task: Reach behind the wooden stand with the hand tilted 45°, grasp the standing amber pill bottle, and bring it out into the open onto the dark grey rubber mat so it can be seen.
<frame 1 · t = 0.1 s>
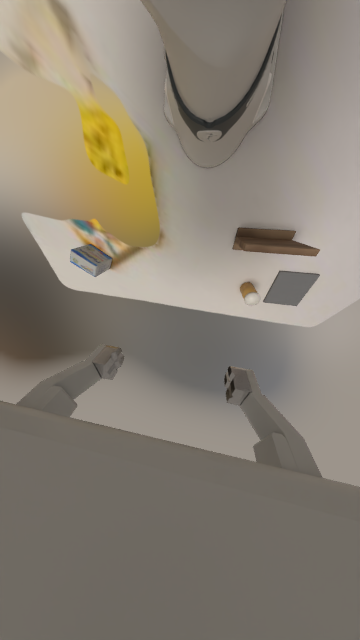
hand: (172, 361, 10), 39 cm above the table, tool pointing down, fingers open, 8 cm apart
medicine box: (101, 256, 45), on the table
pill bottle: (246, 287, 44), on the table
mat: (288, 289, 42), on the table
wooden stand: (261, 240, 35), on the table
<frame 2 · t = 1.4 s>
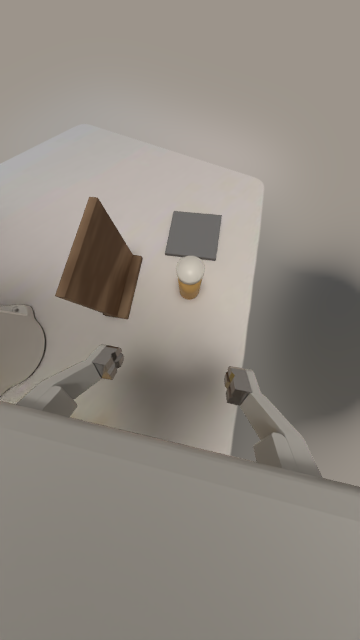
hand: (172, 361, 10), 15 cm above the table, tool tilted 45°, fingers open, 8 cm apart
pill bottle: (189, 290, 27), on the table
mat: (193, 236, 29), on the table
wooden stand: (124, 285, 28), on the table
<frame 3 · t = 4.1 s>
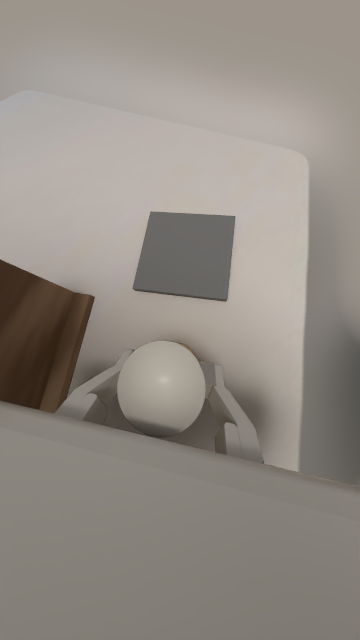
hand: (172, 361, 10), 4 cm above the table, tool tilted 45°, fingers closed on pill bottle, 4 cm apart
pill bottle: (177, 361, 14), on the table, touching gripper
mat: (185, 254, 16), on the table
wooden stand: (59, 350, 15), on the table
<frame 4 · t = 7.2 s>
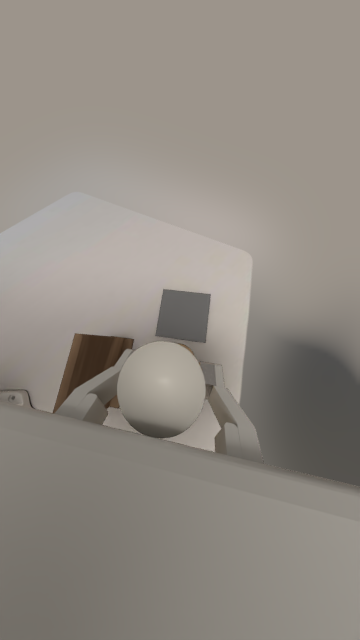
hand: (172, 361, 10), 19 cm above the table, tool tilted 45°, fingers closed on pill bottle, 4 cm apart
pill bottle: (177, 362, 14), point 14 cm above the table, touching gripper
mat: (183, 315, 29), on the table
wooden stand: (116, 369, 28), on the table
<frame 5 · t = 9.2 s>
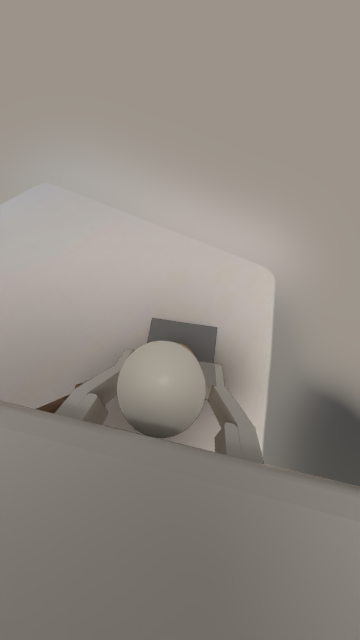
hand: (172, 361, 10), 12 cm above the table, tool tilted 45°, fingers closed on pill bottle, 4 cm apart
pill bottle: (177, 361, 14), point 7 cm above the table, touching gripper
mat: (179, 356, 21), on the table
when the fingers open (6 cm above the table, at t = 10.6 s): pill bottle stays where it is, resting on mat.
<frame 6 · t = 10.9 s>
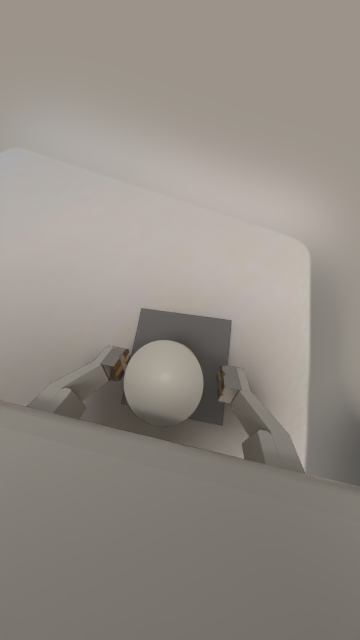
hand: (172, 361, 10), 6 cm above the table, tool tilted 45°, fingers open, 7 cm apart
pill bottle: (177, 361, 14), point 1 cm above the table, touching mat
mat: (178, 360, 15), on the table
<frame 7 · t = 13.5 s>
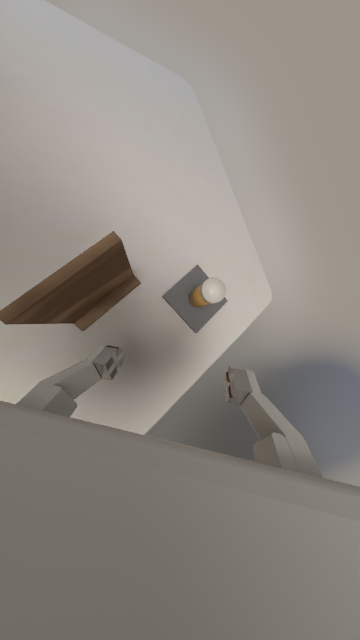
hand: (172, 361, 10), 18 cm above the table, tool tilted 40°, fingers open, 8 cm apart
pill bottle: (197, 298, 29), point 1 cm above the table, touching mat
mat: (196, 299, 29), on the table
wooden stand: (104, 296, 25), on the table
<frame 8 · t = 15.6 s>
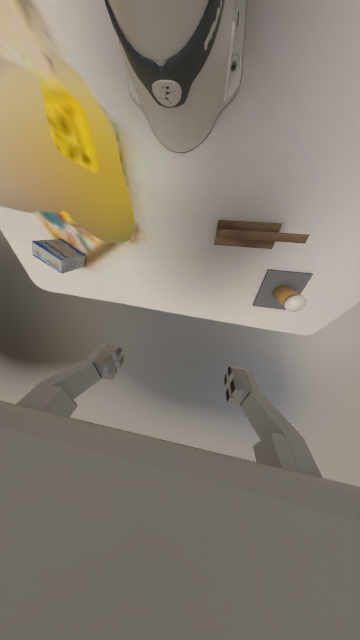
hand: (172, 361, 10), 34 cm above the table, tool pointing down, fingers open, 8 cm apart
medicine box: (74, 253, 42), on the table
pill bottle: (280, 291, 37), point 1 cm above the table, touching mat
mat: (279, 290, 38), on the table
wooden stand: (245, 234, 32), on the table
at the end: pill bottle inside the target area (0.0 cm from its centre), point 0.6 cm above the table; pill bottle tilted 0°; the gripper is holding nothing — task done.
